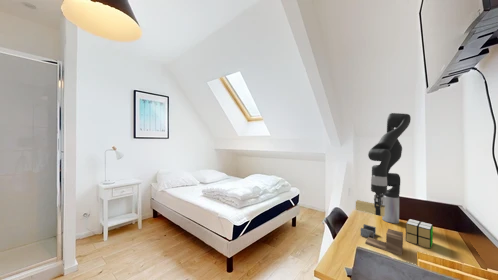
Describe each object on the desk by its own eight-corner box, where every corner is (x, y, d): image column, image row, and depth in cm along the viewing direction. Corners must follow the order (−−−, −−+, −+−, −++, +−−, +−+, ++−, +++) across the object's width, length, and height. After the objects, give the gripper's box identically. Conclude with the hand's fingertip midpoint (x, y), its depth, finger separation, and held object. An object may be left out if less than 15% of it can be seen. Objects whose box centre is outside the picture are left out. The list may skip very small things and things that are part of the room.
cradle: (363, 230, 115) (364, 224, 115) (375, 234, 111) (375, 227, 111) (360, 235, 109) (360, 228, 109) (372, 239, 105) (372, 232, 105)
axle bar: (357, 208, 116) (357, 200, 116) (385, 214, 106) (385, 205, 106) (355, 209, 113) (355, 201, 113) (384, 216, 103) (384, 207, 103)
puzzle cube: (408, 235, 110) (409, 218, 110) (432, 242, 103) (432, 224, 103) (405, 241, 104) (405, 223, 104) (430, 249, 96) (430, 229, 96)
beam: (368, 238, 105) (368, 223, 105) (402, 249, 95) (402, 232, 95) (365, 243, 100) (365, 227, 100) (401, 255, 90) (401, 237, 90)
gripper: (385, 187, 99) (384, 219, 99) (388, 183, 110) (388, 212, 109) (368, 184, 104) (368, 215, 104) (373, 181, 115) (373, 209, 114)
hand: (378, 214), depth 107 cm, fingers closed on axle bar, 4 cm apart
